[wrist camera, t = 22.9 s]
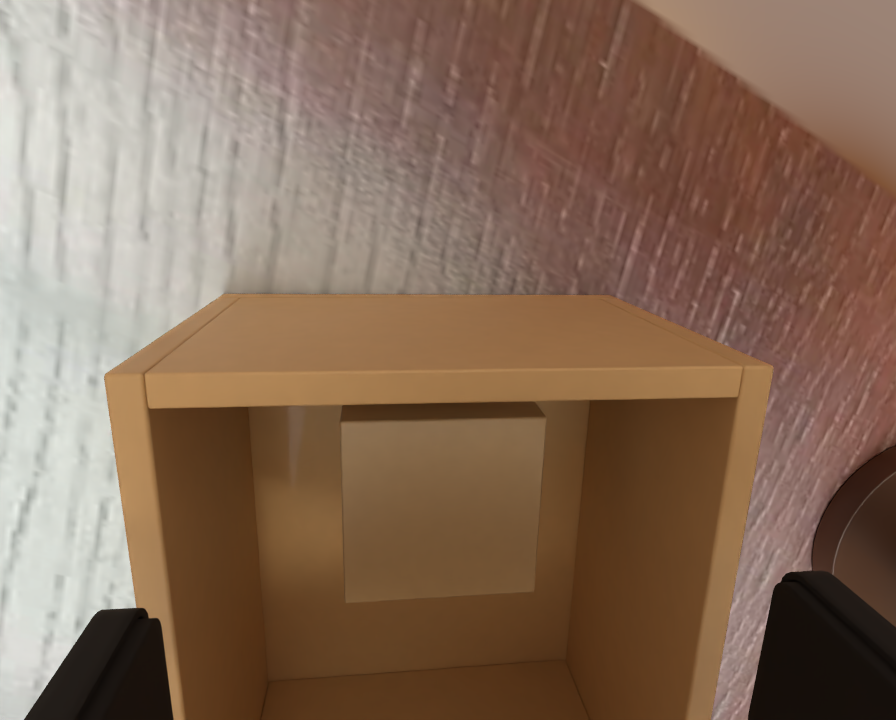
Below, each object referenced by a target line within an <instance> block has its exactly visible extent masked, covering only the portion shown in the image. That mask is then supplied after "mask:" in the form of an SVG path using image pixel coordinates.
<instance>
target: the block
mask: <svg viewBox="0 0 896 720" xmlns="http://www.w3.org/2000/svg"><path fill="white" fill-rule="evenodd" d="M339 424H340V460H341V496H342V532H343V567H344V601H345V603H359V602H376V601H393V600H410V599H427V598H444V597H460V596H477V595H494V594H511V593H528V592H534V588H535V575H536V561H537V548H538V534H539V521H540V507H541V493H542V480H543V466H544V453H545V439H546V425H547V417H546V416H545V415H544V413H543V412H542V411H541V409H540V408H539V407H538V405H537V404H536V403H535V402H534V401H527V402H476V403H424V404H372V405H342V410H341V417H340V423H339Z"/></svg>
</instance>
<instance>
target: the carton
mask: <svg viewBox="0 0 896 720" xmlns="http://www.w3.org/2000/svg"><path fill="white" fill-rule="evenodd" d="M772 375H773V366H772V365H769V364H767V363H765V362H762V361H760V360H758V359H756V358H753V357H751V356H749V355H746V354H744V353H742V352H739V351H737V350H735V349H732V348H730V347H728V346H726V345H723V344H721V343H719V342H716V341H714V340H712V339H709V338H707V337H705V336H703V335H700V334H698V333H696V332H693V331H691V330H689V329H686V328H684V327H682V326H680V325H677V324H675V323H673V322H670V321H668V320H666V319H663V318H661V317H659V316H656V315H654V314H652V313H650V312H647V311H645V310H643V309H640V308H638V307H636V306H633V305H631V304H629V303H627V302H624V301H622V300H620V299H618V298H615V297H613V296H611V295H441V294H223V295H221V296H220V297H219V298H217V299H216V300H214V301H213V302H211V303H210V304H208V305H207V306H205V307H204V308H202V309H201V310H200V311H198V312H197V313H195V314H194V315H192V316H191V317H189V318H188V319H186V320H185V321H183V322H182V323H180V324H179V325H177V326H176V327H174V328H173V329H171V330H170V331H168V332H167V333H165V334H164V335H162V336H161V337H159V338H158V339H156V340H155V341H154V342H152V343H151V344H149V345H148V346H146V347H145V348H143V349H142V350H140V351H139V352H137V353H136V354H134V355H133V356H131V357H130V358H128V359H127V360H125V361H124V362H122V363H121V364H119V365H118V366H116V367H115V368H113V369H112V370H110V371H109V372H108V373H106V374H105V376H104V380H105V387H106V394H107V401H108V409H109V416H110V423H111V430H112V437H113V444H114V451H115V458H116V465H117V472H118V480H119V487H120V494H121V501H122V508H123V515H124V522H125V529H126V536H127V543H128V551H129V558H130V565H131V572H132V579H133V586H134V593H135V600H136V607H137V608H144V609H146V611H147V613H148V616H149V618H158V619H159V620H160V622H161V626H162V633H163V641H164V649H165V657H166V665H167V672H168V680H169V688H170V696H171V704H172V711H173V719H174V720H711V715H712V709H713V703H714V698H715V692H716V687H717V681H718V676H719V670H720V664H721V659H722V653H723V648H724V642H725V637H726V631H727V625H728V620H729V614H730V609H731V603H732V598H733V592H734V586H735V581H736V575H737V570H738V564H739V559H740V553H741V547H742V542H743V536H744V531H745V525H746V520H747V514H748V508H749V503H750V497H751V492H752V486H753V481H754V475H755V470H756V464H757V458H758V453H759V447H760V442H761V436H762V431H763V425H764V419H765V414H766V408H767V403H768V397H769V392H770V386H771V380H772ZM527 401H534V402H535V403H536V404H537V405H538V407H539V408H540V409H541V411H542V412H543V413H544V415H545V416H546V417H547V425H546V439H545V453H544V466H543V480H542V493H541V507H540V521H539V534H538V548H537V561H536V575H535V588H534V592H528V593H511V594H494V595H477V596H460V597H444V598H427V599H410V600H393V601H376V602H359V603H345V601H344V567H343V532H342V496H341V460H340V424H339V423H340V417H341V410H342V405H372V404H424V403H476V402H527Z"/></svg>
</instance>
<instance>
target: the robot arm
mask: <svg viewBox="0 0 896 720" xmlns="http://www.w3.org/2000/svg"><path fill="white" fill-rule="evenodd" d="M24 720H174V719H173V711H172V704H171V696H170V688H169V680H168V672H167V665H166V657H165V649H164V641H163V633H162V626H161V622H160V620H159V619H158V618H149V616H148V613H147V611H146V609H144V608H128V609H110V610H101V611H98V612H97V613H96V614H95V615H94V616H93V618H92V619H91V621H90V622H89V624H88V625H87V627H86V628H85V630H84V631H83V633H82V634H81V636H80V637H79V639H78V640H77V642H76V643H75V645H74V646H73V647H72V649H71V650H70V652H69V653H68V655H67V656H66V658H65V659H64V661H63V662H62V664H61V665H60V667H59V668H58V670H57V671H56V673H55V674H54V676H53V677H52V679H51V680H50V682H49V683H48V685H47V686H46V688H45V689H44V691H43V692H42V694H41V695H40V697H39V698H38V700H37V701H36V703H35V704H34V706H33V707H32V709H31V710H30V712H29V713H28V715H27V716H26V718H25V719H24ZM748 720H896V627H895V626H894V625H892V624H891V623H890V622H889V621H888V620H886V619H885V618H884V617H883V616H882V615H881V614H879V613H878V612H877V611H876V610H875V609H873V608H872V607H871V606H870V605H869V604H867V603H866V602H865V601H864V600H863V599H861V598H860V597H859V596H858V595H857V594H855V593H854V592H853V591H852V590H851V589H849V588H848V587H847V586H846V585H845V584H844V583H842V582H841V581H840V580H839V579H838V578H836V577H835V576H834V575H832V574H831V573H829V572H827V571H822V570H821V571H803V572H790V573H787V574H785V576H784V577H783V578H782V581H781V583H778V584H777V585H776V586H775V588H774V590H773V595H772V600H771V605H770V610H769V615H768V620H767V625H766V630H765V635H764V640H763V645H762V650H761V655H760V660H759V665H758V670H757V675H756V680H755V685H754V690H753V695H752V699H751V704H750V709H749V715H748Z"/></svg>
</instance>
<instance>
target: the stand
mask: <svg viewBox="0 0 896 720" xmlns="http://www.w3.org/2000/svg"><path fill="white" fill-rule="evenodd" d="M812 566H813V571H821V570H822V571H827V572H829V573H831V574H832V575H834V576H835V577H836V578H838V579H839V580H840V581H841V582H842V583H844V584H845V585H846V586H847V587H848V588H849V589H851V590H852V591H853V592H854V593H855V594H857V595H858V596H859V597H860V598H861V599H863V600H864V601H865V602H866V603H867V604H869V605H870V606H871V607H872V608H873V609H875V610H876V611H877V612H878V613H879V614H881V615H882V616H883V617H884V618H885V619H886V620H888V621H889V622H890V623H891V624H892V625H894V626H895V627H896V446H894V447H892V448H890V449H888V450H886V451H884V452H883V453H881V454H879V455H878V456H876V457H875V458H873V459H872V460H870V461H869V462H868V463H866V464H865V465H864V466H862V467H861V468H860V469H859V470H858V471H857V472H856V473H855V474H854V475H853V476H851V477H850V478H849V480H848V481H847V482H846V483H845V484H844V485H843V486H842V487H841V489H840V490H839V491H838V493H837V494H836V495H835V497H834V498H833V500H832V501H831V503H830V504H829V506H828V508H827V510H826V511H825V513H824V515H823V518H822V520H821V522H820V525H819V527H818V530H817V534H816V537H815V541H814V547H813V560H812Z"/></svg>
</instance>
